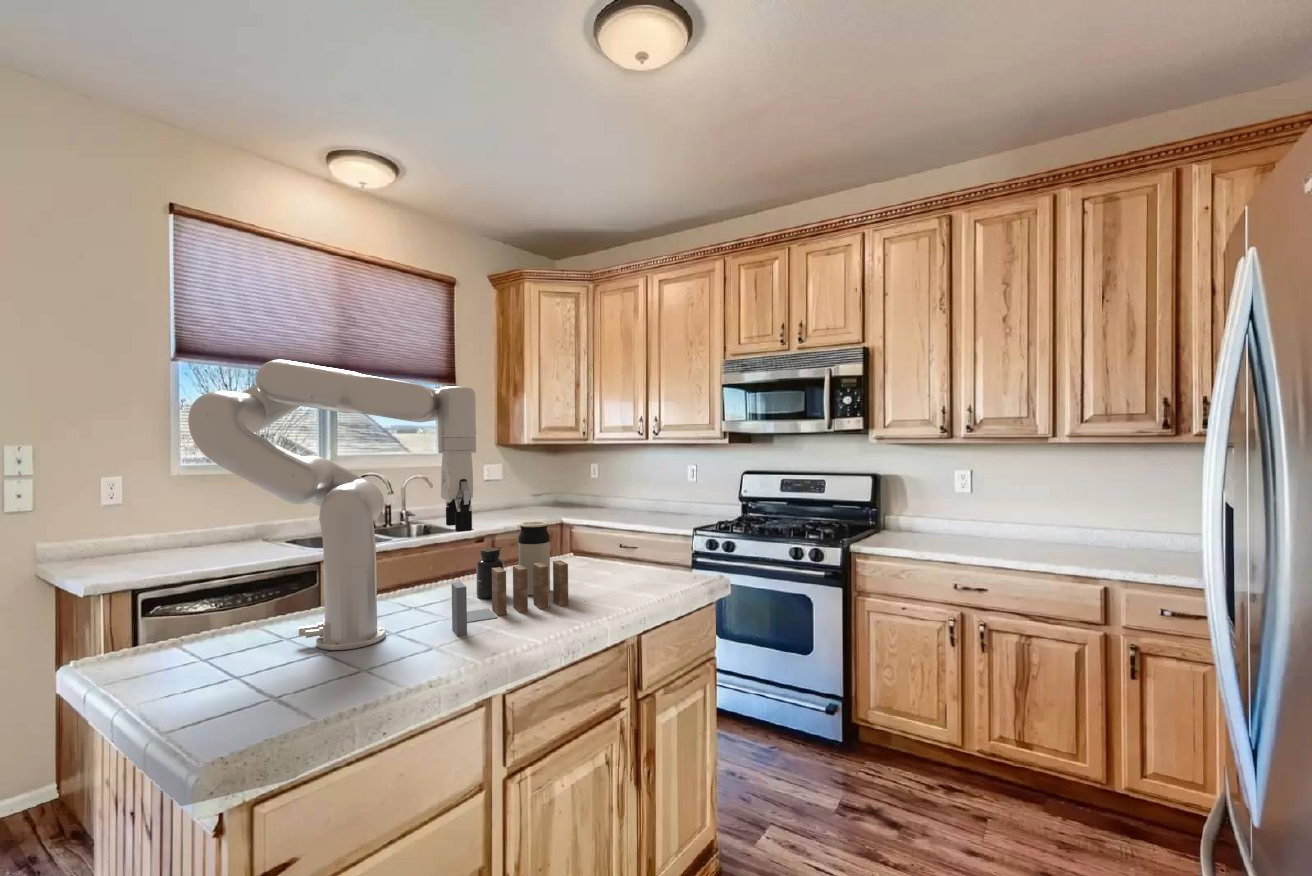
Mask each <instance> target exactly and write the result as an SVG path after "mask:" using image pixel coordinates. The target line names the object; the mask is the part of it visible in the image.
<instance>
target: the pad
mask: <svg viewBox="0 0 1312 876" xmlns="http://www.w3.org/2000/svg"><path fill="white" fill-rule="evenodd" d="M494 619H498V616H497V615H496V614H495V613H494V612H493V611H492V610H491V609H490V608H485V609H484V608H483V609H477V610H476V609H475V610H470V611H468V610H467V624H468V623H473V622H475V623H476V622H480V621H487V620H494Z"/></svg>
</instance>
